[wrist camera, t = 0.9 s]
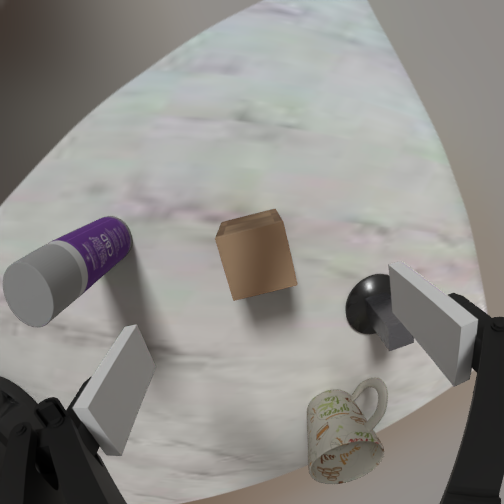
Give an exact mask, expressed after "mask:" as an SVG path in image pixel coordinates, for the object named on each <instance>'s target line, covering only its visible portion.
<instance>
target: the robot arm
mask: <svg viewBox="0 0 504 504" xmlns="http://www.w3.org/2000/svg"><path fill="white" fill-rule="evenodd" d="M388 266H389V276H390V287H391V300H392V312H393V314H394V315H395V316H396V317H397V318H398V319H399V321H400V322H401V323H402V324H403V325H404V326H405V328H406V329H407V330H408V331H409V332H410V333H411V335H412V336H413V337H414V338H415V339H416V341H417V342H418V343H419V344H420V345H421V347H422V348H423V349H424V350H425V351H426V353H427V354H428V355H429V356H430V357H431V359H432V360H433V361H434V362H435V364H436V365H437V366H438V367H439V369H440V370H441V371H442V372H443V373H444V375H445V376H446V377H447V379H448V380H449V381H450V382H451V384H452V385H453V386H457V385H459V384H461V383H463V382H465V381H467V380H469V379H470V375H471V369H472V368H473V369H474V370H475V371H476V372H477V377H476V382H475V386H474V391H473V397H472V402H471V406H470V411H469V415H468V420H467V423H466V427H465V431H464V435H463V438H462V441H461V445H460V448H459V451H458V455H457V458H456V461H455V464H454V467H453V470H452V473H451V475H450V478H449V481H448V484H447V487H446V489H445V491H444V495H443V497H442V499H441V501H440V504H501V498H499V492H500V488H501V484H502V480H503V475H504V317H494V318H491V317H490V316H489V315H487V314H486V313H485V312H484V311H482V310H481V309H480V308H478V307H477V306H475V305H474V304H473V303H472V302H470V301H469V300H468V299H466V298H465V297H464V296H461V295H458V294H455V293H451V294H449V295H447V294H445V293H444V292H443V291H441V290H440V289H439V288H438V287H436V286H435V285H434V284H432V283H431V282H430V281H428V280H427V279H426V278H424V277H423V276H422V275H420V274H419V273H418V272H416V271H415V270H413V269H412V268H411V267H409V266H408V265H407V264H405V263H404V262H402V261H399V262H396V263H392V264H389V265H388ZM155 368H156V365H155V363H154V361H153V359H152V357H151V355H150V352H149V350H148V348H147V346H146V344H145V341H144V339H143V337H142V335H141V332H140V330H139V328H138V325H131V326H126V327H124V329H123V330H122V332H121V333H120V335H119V336H118V338H117V339H116V341H115V342H114V344H113V345H112V347H111V348H110V350H109V351H108V353H107V354H106V356H105V357H104V359H103V360H102V362H101V363H100V365H99V367H98V368H97V370H96V371H95V373H94V374H93V376H91V377H90V378H89V379H88V380H87V381H85V382H84V383H83V385H82V386H81V388H80V389H79V391H78V393H77V394H76V397H74V399H73V401H72V402H71V404H70V405H69V407H68V408H67V410H65V409H64V407H63V406H62V404H61V402H60V401H59V400H58V398H55V397H52V398H48V399H45V400H43V401H42V402H40V403H39V404H38V405H37V404H36V402H35V401H34V400H33V399H32V398H31V397H30V396H29V395H28V394H27V393H26V392H24V391H23V390H22V389H21V388H20V387H18V386H17V385H15V384H14V383H12V382H11V381H9V380H7V379H5V378H3V377H0V504H127V503H126V502H125V500H124V498H123V497H122V495H121V493H120V492H119V490H118V488H117V486H116V485H115V483H114V481H113V479H112V478H111V476H110V474H109V472H108V470H107V468H106V467H105V465H104V463H103V461H102V459H101V457H100V456H99V455H98V454H97V451H98V449H99V446H100V447H101V449H102V450H103V451H104V453H105V454H106V455H111V456H122V454H123V451H124V448H125V445H126V443H127V440H128V437H129V435H130V432H131V429H132V427H133V424H134V422H135V419H136V416H137V414H138V411H139V409H140V406H141V403H142V401H143V398H144V396H145V393H146V391H147V388H148V386H149V383H150V381H151V378H152V376H153V373H154V371H155Z"/></svg>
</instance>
